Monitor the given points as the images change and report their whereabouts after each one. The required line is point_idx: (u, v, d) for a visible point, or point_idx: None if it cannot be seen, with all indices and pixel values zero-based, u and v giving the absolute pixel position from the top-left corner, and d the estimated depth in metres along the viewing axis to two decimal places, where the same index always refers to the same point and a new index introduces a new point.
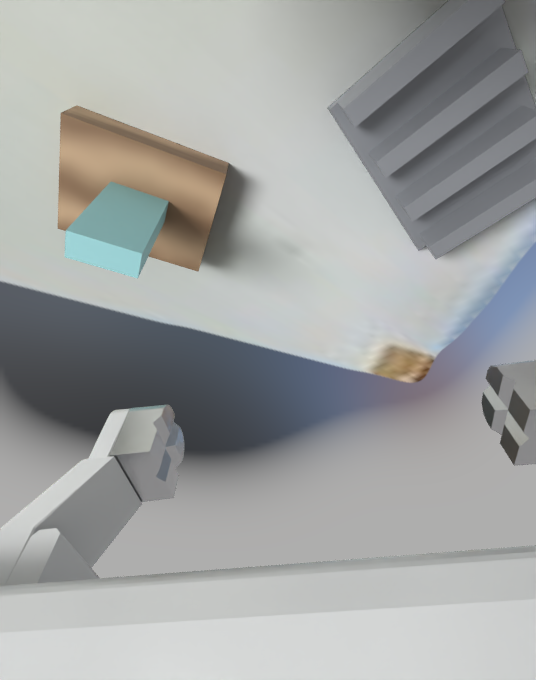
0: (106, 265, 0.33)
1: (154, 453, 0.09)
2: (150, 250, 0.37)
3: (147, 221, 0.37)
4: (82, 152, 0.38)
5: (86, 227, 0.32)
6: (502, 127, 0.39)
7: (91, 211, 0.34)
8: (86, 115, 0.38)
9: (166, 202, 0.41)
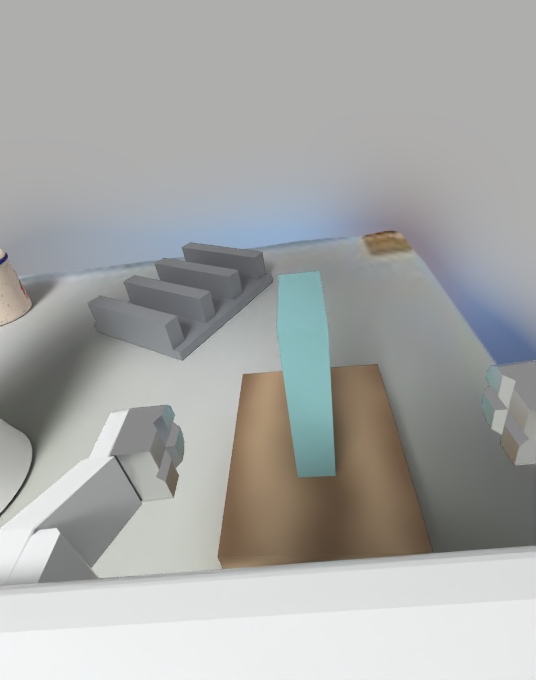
0: (316, 292, 0.21)
1: (154, 453, 0.09)
2: None
3: None
4: (268, 520, 0.24)
5: None
6: (171, 278, 0.57)
7: None
8: None
9: None
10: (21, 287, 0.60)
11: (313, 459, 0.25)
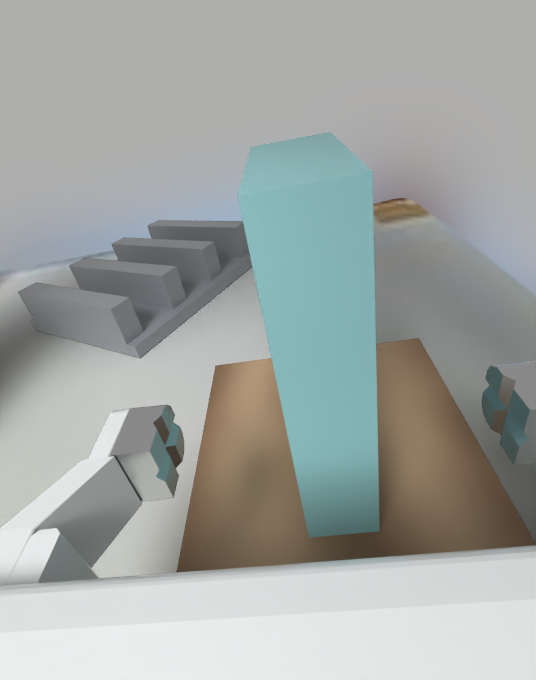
0: (328, 147, 0.10)
1: (154, 453, 0.09)
2: None
3: None
4: None
5: None
6: (132, 261, 0.46)
7: None
8: None
9: None
10: None
11: (337, 504, 0.13)
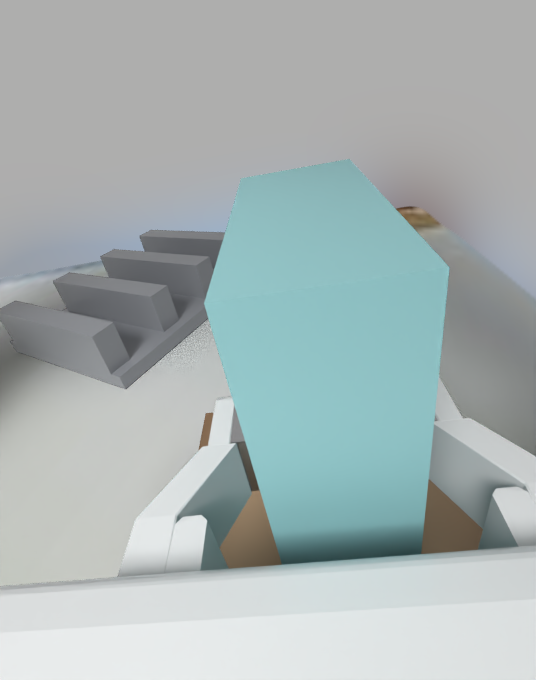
0: (352, 190, 0.07)
1: None
2: None
3: None
4: None
5: None
6: (122, 275, 0.43)
7: None
8: None
9: None
10: None
11: None
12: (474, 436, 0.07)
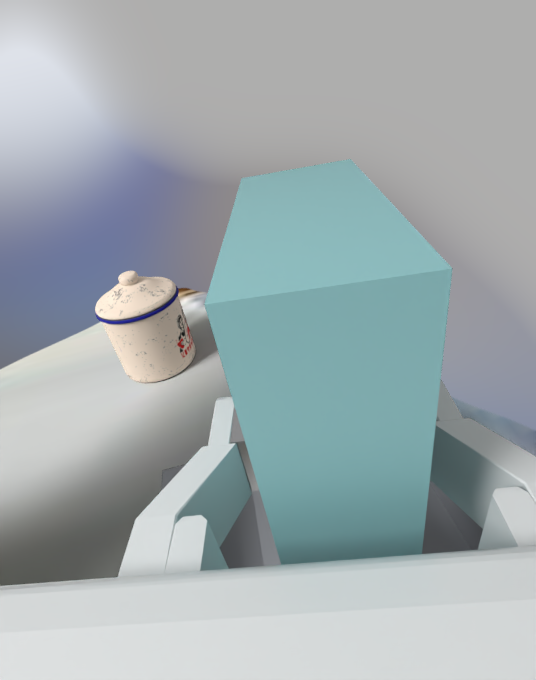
0: (353, 191, 0.07)
1: None
2: None
3: None
4: None
5: None
6: None
7: None
8: None
9: None
10: (179, 343, 0.43)
11: None
12: (474, 436, 0.07)
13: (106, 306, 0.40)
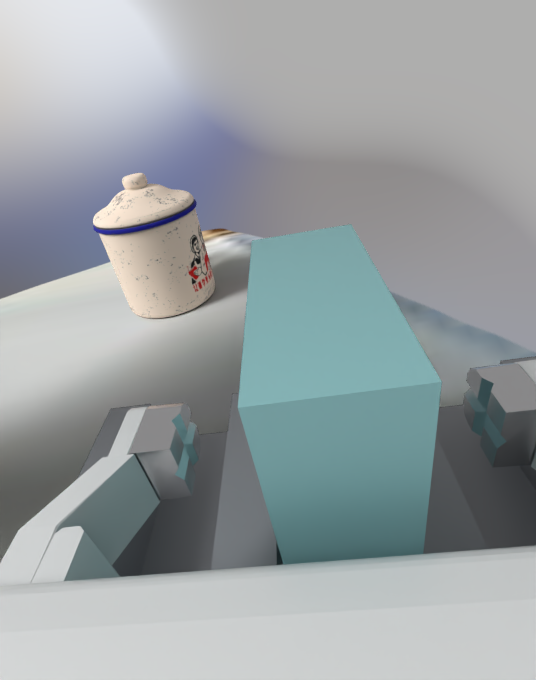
0: (356, 271, 0.07)
1: (174, 451, 0.09)
2: None
3: None
4: None
5: None
6: None
7: None
8: None
9: None
10: (191, 271, 0.34)
11: None
12: None
13: (104, 213, 0.32)
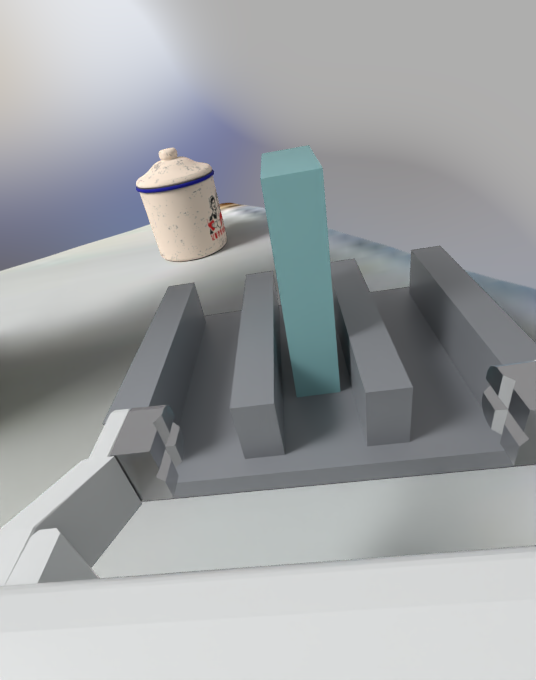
0: (306, 155, 0.18)
1: (154, 453, 0.09)
2: None
3: None
4: None
5: None
6: (333, 304, 0.27)
7: None
8: None
9: None
10: (210, 224, 0.45)
11: (313, 369, 0.21)
12: None
13: (145, 177, 0.43)
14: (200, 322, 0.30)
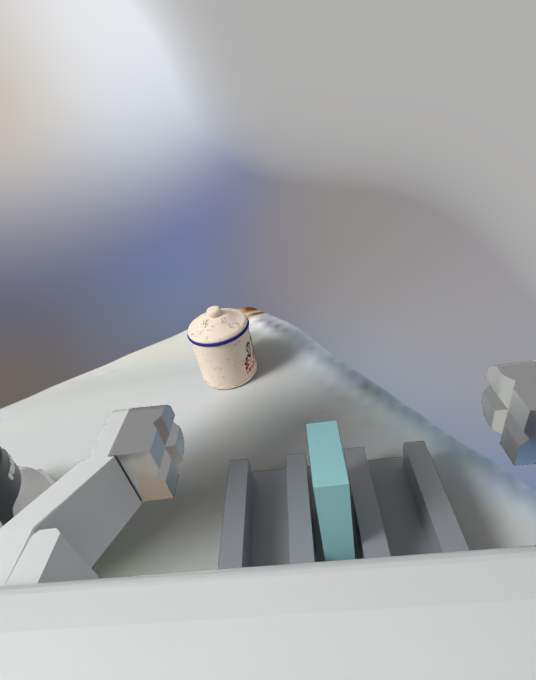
0: (336, 446, 0.30)
1: (154, 453, 0.09)
2: None
3: None
4: None
5: None
6: (349, 483, 0.39)
7: None
8: None
9: None
10: (245, 362, 0.57)
11: (338, 559, 0.33)
12: None
13: (196, 331, 0.55)
14: (252, 485, 0.41)
